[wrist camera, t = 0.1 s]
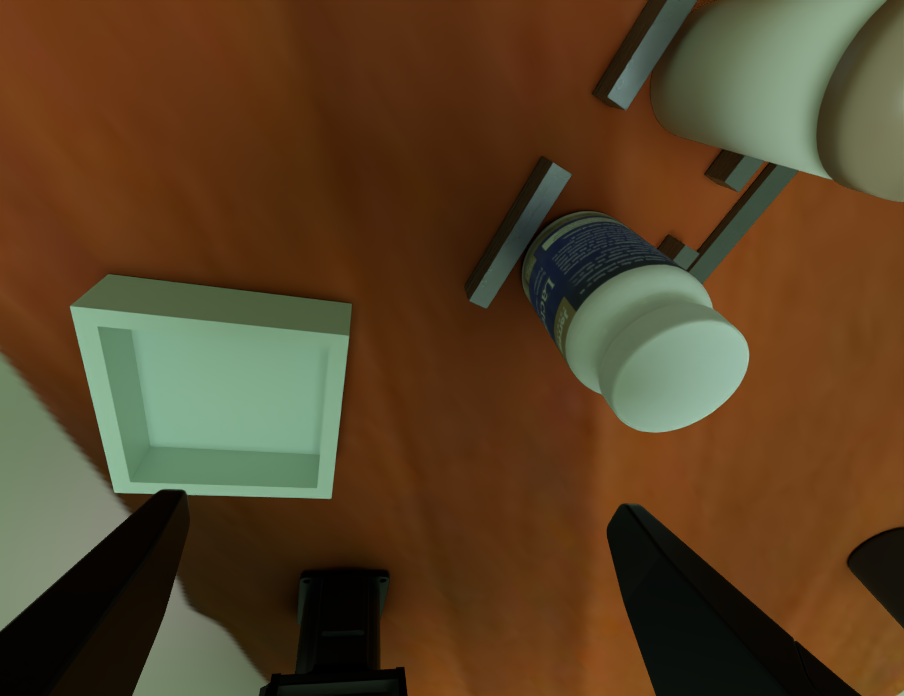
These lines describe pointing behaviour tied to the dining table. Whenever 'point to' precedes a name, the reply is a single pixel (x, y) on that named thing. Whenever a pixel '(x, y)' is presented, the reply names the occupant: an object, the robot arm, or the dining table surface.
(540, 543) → the dining table surface
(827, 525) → the dining table surface
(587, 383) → the pill bottle
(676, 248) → the set of grey bars
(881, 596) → the black water bottle
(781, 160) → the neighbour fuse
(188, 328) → the tray
